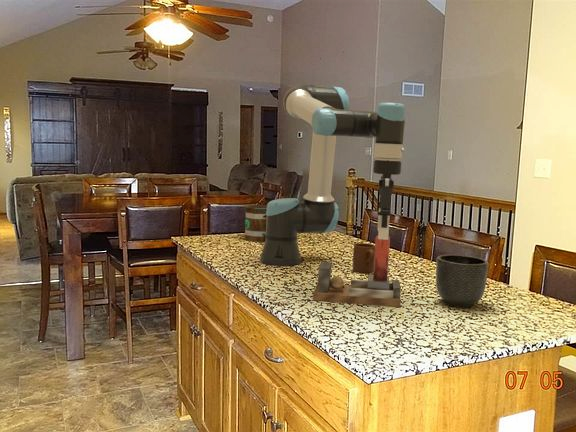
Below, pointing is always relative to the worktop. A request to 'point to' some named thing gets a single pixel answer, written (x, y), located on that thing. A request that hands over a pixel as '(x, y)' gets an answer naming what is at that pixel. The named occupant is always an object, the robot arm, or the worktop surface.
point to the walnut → (336, 282)
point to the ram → (380, 266)
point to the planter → (461, 279)
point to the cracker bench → (354, 291)
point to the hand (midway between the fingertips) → (382, 235)
